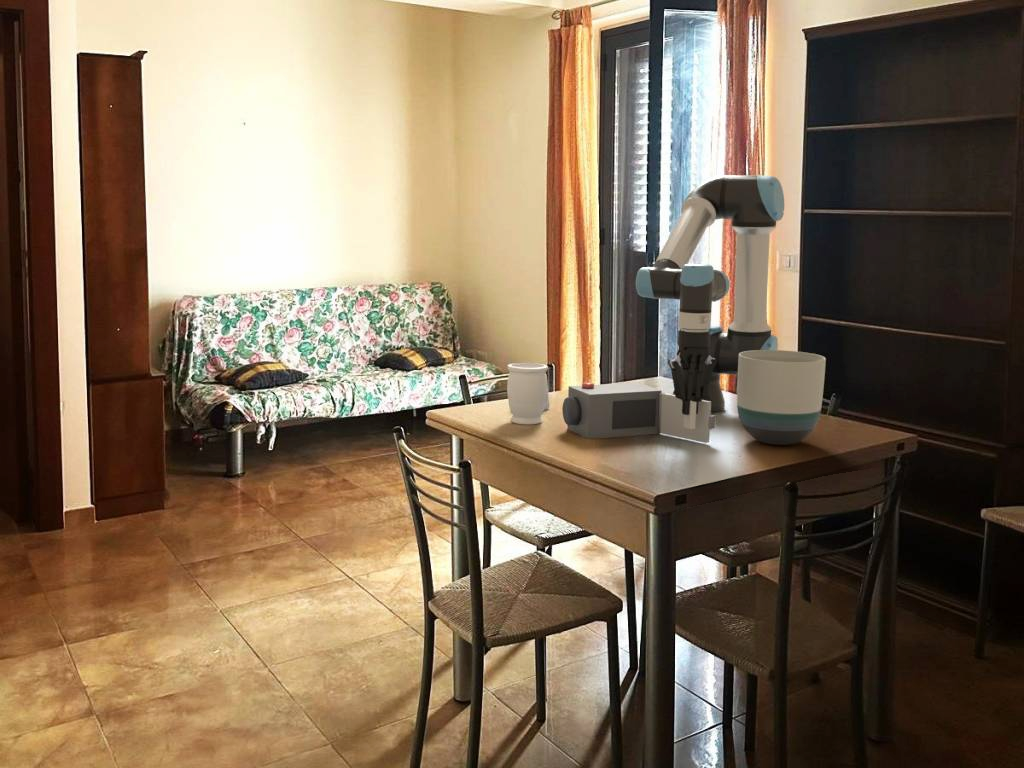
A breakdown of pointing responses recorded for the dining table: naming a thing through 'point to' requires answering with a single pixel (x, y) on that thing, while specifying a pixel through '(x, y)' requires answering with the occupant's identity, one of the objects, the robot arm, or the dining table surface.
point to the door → (674, 419)
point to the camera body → (612, 410)
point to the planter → (779, 394)
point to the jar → (527, 392)
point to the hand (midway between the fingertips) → (689, 427)
